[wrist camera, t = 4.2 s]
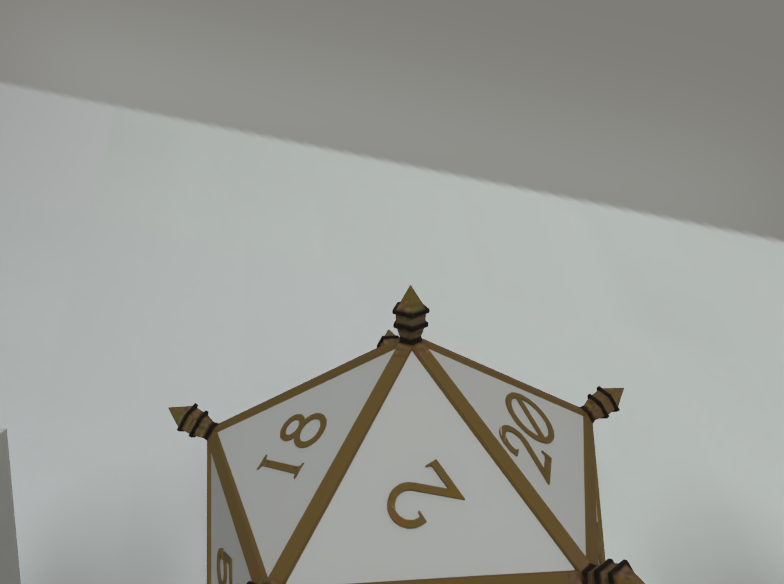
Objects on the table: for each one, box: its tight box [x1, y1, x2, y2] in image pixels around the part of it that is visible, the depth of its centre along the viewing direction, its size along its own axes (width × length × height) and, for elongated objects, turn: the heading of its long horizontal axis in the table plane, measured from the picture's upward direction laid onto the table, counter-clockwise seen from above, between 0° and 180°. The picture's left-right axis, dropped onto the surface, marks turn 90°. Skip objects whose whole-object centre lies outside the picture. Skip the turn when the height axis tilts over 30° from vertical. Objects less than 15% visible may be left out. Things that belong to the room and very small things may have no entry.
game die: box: [169, 285, 645, 584], centre depth 13 cm, size 9×8×10 cm
